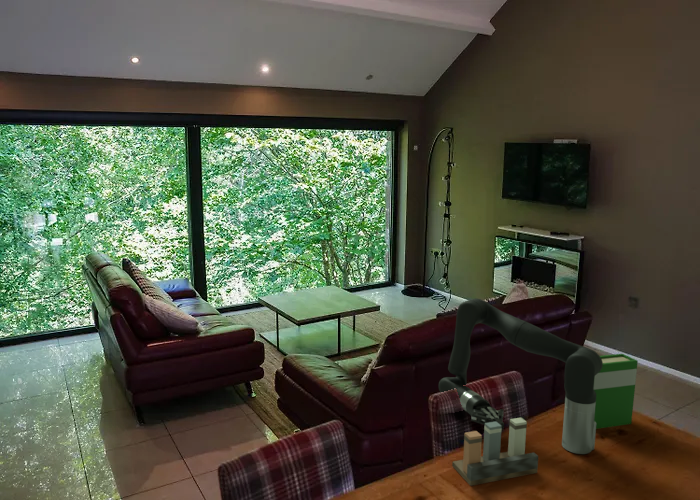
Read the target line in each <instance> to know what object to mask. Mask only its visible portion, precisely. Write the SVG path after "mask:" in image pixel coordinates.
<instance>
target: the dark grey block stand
mask: <svg viewBox="0 0 700 500" xmlns="http://www.w3.org/2000/svg"><path fill="white" fill-rule="evenodd" d="M451 464H452V465H451V466H452V468H453V469H454V470H456V472H457V473H458V475H460V476H461V477H462V479H463V480H464V481H465V482H467V485H469V486H471V487H472V486H477V485H482V484H487V483H491V482H497V481H503V480H506V479H512V478H518V477H524V476H528V475H533V474H537V473H538V467H539V455H538V454H537V453H535V452H529V453H528V452H527V453H525V454H523V455H517V456H512V457H510V456H509V455H508V451H504V452H500V459H495V460H490V461H484V460H483V455H481V461H480V462H479V463H473V464H467V474H466V473H465V472H464V471H463V459H459V460H454V461H452V463H451Z"/></svg>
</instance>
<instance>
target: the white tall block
mask: <svg viewBox="0 0 700 500" xmlns="http://www.w3.org/2000/svg"><path fill="white" fill-rule="evenodd" d="M508 425H509V429H508V430H509V431H508V433H509V434H508V447H507V452H508V455H509V456H510V457H512V456H517V455H523V454H526V453H525V452H526V436H527V427H528V422H527V420H525V419H524V418H523V417H517V418H516V417H514V418H510V419H509V424H508Z"/></svg>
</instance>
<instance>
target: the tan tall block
mask: <svg viewBox="0 0 700 500" xmlns="http://www.w3.org/2000/svg"><path fill="white" fill-rule="evenodd" d="M463 436H464V437H463V440H464V441H463V456H462V457H463V459H462V460H463V471H464V472H465V473H466V474H467V464H473V463H479V462H480V461H481V456H482V443H483V437H482V436H483V435H482V434H481V433H480V432H478V431H477V430H472V431H468V432H464V435H463Z"/></svg>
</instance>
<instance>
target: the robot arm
mask: <svg viewBox="0 0 700 500" xmlns="http://www.w3.org/2000/svg"><path fill="white" fill-rule="evenodd" d="M458 305H459V306H458V308H457V312H456V321H455V329H454V341H453V346H452V350H451V353H450V358H449V363H448V367H447V369H448V371H449V373H450V374H452V375H453V376H455V377H450V376H446V377H443V378H441V379H440V380H439V382H438V391H439V392H440V394H441V392H444V391H448V390H451V389H453V390H454V388H456V389H457V392H458V395H459V398H460V402H461V405H462V406H461V407H462V409H463V410H464V411H465V412H466V413H467V414H469V416H471V419H470V421H471V422H474V423H477V424H481V425H484V426H485V423H489V422H497V423H499V424H500V425H501V426H502V427H501V428H502V430H504V428H505V422H503V420H504V412H505V411H504V409H503V408H500V409H498V410H497V409H496V408H494V407H492V406H491V404H490V402H489V401H488V400H487V399H485V398H484V397H483V396H481V395H480V394H479V393H477V392H475V391H474V390H473V389H471V388H470V387H468V386H467V387H466V386H463V385H466V384H467V371H468V367H469V363H470V358H471V336H472V332H473V330H474V327H475V326H476V325H479V324H482V325H485V326H488V327H490V328H493V329H494V330H496V331H498V332H499V333H500V334H501V335H502V337H504V338H505V339H506V341H508V342H509V343H510V344H511V345H514V346H515V347H517V348H520V349H521V350H523V351H525V352H527V353H531V354H535V355H539V356H544V357H550V358H554V359H557V360H559V361H562V362H564V363H565V366H564V377H563V378H564V380H563V381H564V382H563V385H564V386H563V387H564V391H565V398H564V409H563V410H564V411H563V412H564V413H563V425H562V438H561V446H562V448H563V449H565V450H566V451H569V452H570V453H573V454H577V455H587V454H591V452H592V451H594V450H595V443H596V432H597V429H596V422H595V421H594V418H595V406H596V392H595V391H594V377H595V375H597V374H598V373H599V372H600V371H601V369H602V367H603V362H602V359H601V357H600V356H601V355H600V354H598V352H596V351H595V350H593V349H592V348H588V347H587V346H583V345H580V344H577V343H575V342H574V343H573V342H572V341H569V340H566V339H563V338H561V337H559V336H557V335H555V334H554V333H553V334H552V332H548V331H546V330H544V329H542V328H541V327H538V326H536V325H534V324H532V323H530V322H528V321H526V320H522V319H521V318H518V317H515V316H513V315H512V314H509V313H508V312H505V311H502V310H500V309H499V308H497V307H495V306H493V305H491V304H490V303H488V302H487V301H485V300H483V299H481V298H471V299H468V300H465V301H463V302H461V303H460V304H458ZM467 385H468V384H467Z"/></svg>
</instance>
